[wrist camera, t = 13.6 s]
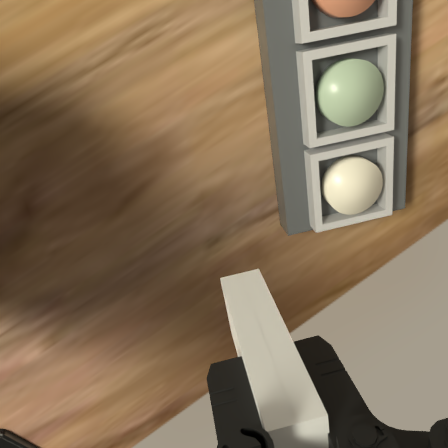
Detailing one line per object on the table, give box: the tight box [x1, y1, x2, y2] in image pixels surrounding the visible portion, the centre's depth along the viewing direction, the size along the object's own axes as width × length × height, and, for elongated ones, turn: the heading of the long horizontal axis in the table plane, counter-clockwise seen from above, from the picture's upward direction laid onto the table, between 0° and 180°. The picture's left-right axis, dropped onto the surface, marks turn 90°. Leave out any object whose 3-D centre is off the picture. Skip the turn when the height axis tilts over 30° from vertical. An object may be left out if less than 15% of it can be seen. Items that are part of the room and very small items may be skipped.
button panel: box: [254, 0, 413, 236], centre depth 40 cm, size 14×29×5 cm, turn 10°
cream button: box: [321, 155, 383, 215], centre depth 43 cm, size 6×6×2 cm
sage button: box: [315, 58, 384, 127], centre depth 39 cm, size 6×6×2 cm
